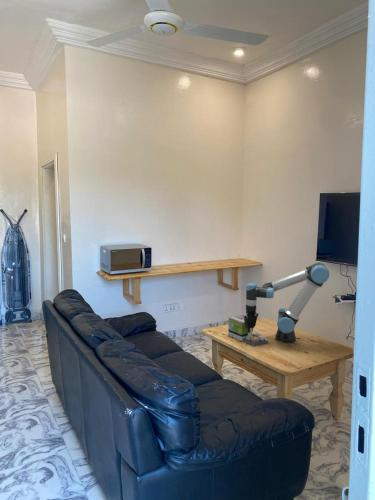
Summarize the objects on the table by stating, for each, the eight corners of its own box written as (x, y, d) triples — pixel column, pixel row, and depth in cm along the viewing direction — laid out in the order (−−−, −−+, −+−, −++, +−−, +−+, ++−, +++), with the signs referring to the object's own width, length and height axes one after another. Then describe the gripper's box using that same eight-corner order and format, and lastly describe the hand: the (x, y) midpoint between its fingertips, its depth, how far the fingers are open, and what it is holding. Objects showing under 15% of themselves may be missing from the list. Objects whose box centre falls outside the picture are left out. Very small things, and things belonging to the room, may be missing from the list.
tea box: (227, 336, 294) (228, 317, 293) (237, 333, 300) (237, 315, 298) (241, 341, 282) (242, 322, 281) (251, 339, 288) (252, 319, 287)
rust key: (255, 341, 280) (255, 336, 279) (259, 342, 276) (259, 338, 276) (250, 342, 278) (250, 337, 277) (254, 344, 274) (254, 339, 273)
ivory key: (261, 339, 283) (261, 334, 282) (265, 341, 279) (265, 336, 279) (257, 340, 281) (257, 335, 280) (261, 342, 277) (261, 337, 276)
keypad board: (257, 338, 289) (257, 336, 289) (268, 343, 279) (268, 340, 279) (243, 341, 283) (243, 338, 282) (254, 346, 272) (254, 344, 272)
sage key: (250, 340, 285) (250, 335, 284) (254, 342, 281) (254, 337, 280) (245, 341, 282) (245, 336, 282) (249, 343, 279) (249, 338, 278)
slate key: (256, 337, 288) (256, 332, 287) (260, 339, 284) (260, 334, 283) (252, 338, 285) (252, 333, 285) (256, 340, 282) (256, 335, 281)
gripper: (254, 302, 285) (253, 333, 288) (240, 304, 279) (239, 336, 281) (261, 305, 279) (260, 336, 281) (247, 307, 272) (246, 339, 275)
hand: (250, 336), depth 281 cm, fingers closed
